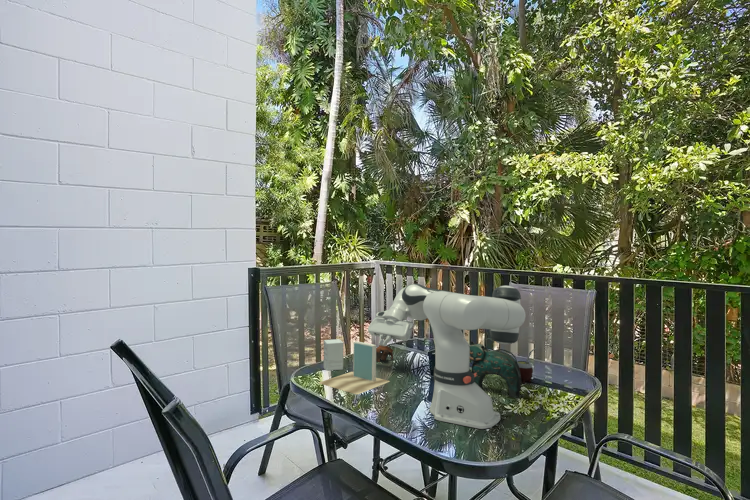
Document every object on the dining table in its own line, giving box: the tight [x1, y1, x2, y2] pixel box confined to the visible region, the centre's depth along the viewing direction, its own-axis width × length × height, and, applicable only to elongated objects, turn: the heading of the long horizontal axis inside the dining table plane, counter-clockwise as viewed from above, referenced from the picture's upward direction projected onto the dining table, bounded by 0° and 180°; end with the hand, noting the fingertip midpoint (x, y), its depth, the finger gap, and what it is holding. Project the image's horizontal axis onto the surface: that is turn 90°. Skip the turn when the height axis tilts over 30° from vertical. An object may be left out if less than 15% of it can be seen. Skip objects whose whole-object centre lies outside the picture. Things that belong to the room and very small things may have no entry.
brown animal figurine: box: [376, 344, 394, 363], centre depth 202 cm, size 12×10×8 cm
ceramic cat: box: [469, 337, 522, 399], centre depth 160 cm, size 20×6×20 cm, turn 53°
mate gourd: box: [517, 347, 537, 385], centre depth 171 cm, size 8×8×15 cm
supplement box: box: [323, 338, 344, 372], centre depth 185 cm, size 7×7×13 cm
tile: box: [352, 341, 377, 382], centre depth 170 cm, size 10×2×14 cm, turn 52°
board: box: [318, 371, 391, 395], centre depth 165 cm, size 20×20×1 cm
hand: (381, 345), depth 180 cm, fingers closed
